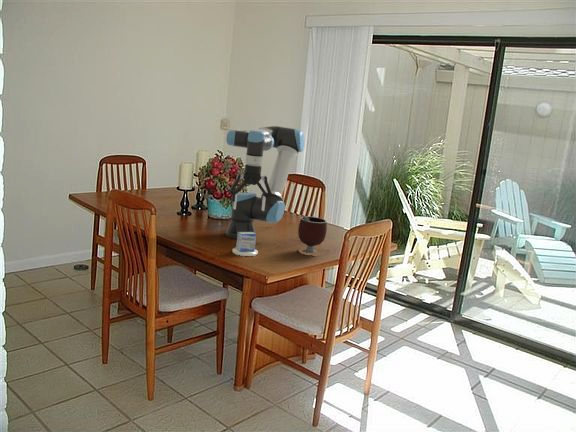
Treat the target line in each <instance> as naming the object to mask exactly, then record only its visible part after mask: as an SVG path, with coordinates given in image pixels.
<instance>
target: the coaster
mask: <svg viewBox="0 0 576 432" xmlns="http://www.w3.org/2000/svg"><path fill="white" fill-rule="evenodd" d="M232 254H234V255H236V256H239V255H240V256H239V257H245V256H253V257H256V255H257V254H259V251H258V250H257V249H255V250H254V251H249V252H239V251H238V250H237V249H236V246H235V247H233V248H232ZM257 256H258V255H257Z"/></svg>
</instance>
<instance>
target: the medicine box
mask: <svg viewBox="0 0 576 432" xmlns="http://www.w3.org/2000/svg"><path fill="white" fill-rule="evenodd" d="M256 239H257V233H256V232H255V233H254V232H238V235H237V239H236V246H235V247H236V249H237V250H238V251H239V252H249V251H254V250H255V248H256V241H257V240H256Z"/></svg>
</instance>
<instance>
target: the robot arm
mask: <svg viewBox="0 0 576 432" xmlns="http://www.w3.org/2000/svg"><path fill="white" fill-rule="evenodd" d="M225 138H226V139H225V141H226V143H227V145H228V146H232V147H238V148H246V155H245V165H244V173H243V174H241V173H237V174H236V178H235V180H234V181H233V183H232V185H231V186H230V188H229V190H228V193H229V194H230V195H232V196H231V202H232V206H231V218H230V222H229V224H228V227H227V229H226V231H225V232H226V233H225V236H226V237H228V238H230V239H234V240H237V235H238V232H254V233H255V234H256V230H255V226H254V220H256V221H261V222H265V223H268V224H269V223H270V224H276V223H278V222H280V221H281V219H282V218H283V216H284V213H285V207H286V204H285V202H284V198H283V194H284V190H285V187H286V185H287V184H286V183H287V180H288V176H289V174H290V170H291V167H292V164H293V161H294V158H296V157H297V156H298V155H299V153H302V152H303V151H304V148H305V134H304V131H303V130H301V129H298V128H290V127H284V126H277V125H273V126H264V127H263V126H261V127H259V128H258V129H250V130H237V129H236V130H235V129H230V130H228V132H227V134H226V137H225ZM273 148H274V149H276V151H277V153H278V154H277V156H276V160H275V162H274V165H273V168H272V171H271V175H270V176H269V177H270V178H269V179H268V177H267V175H263V176H262V175H261V174H262V165H263V156H264V152H266V151H269V150H271V149H273ZM242 179H243V180H242ZM241 180H242V182H241V183H240V184H239V182H240V181H241ZM261 180H262V182H263V183H264V186H265V188H266V189H264V188H263V186H262V184H261V183H260V181H261ZM268 180H269V181H268ZM238 184H239V185H238ZM237 185H238V186H237ZM247 185H249V186H250V185H253V186H256V185H257V186H258V188H259V189H260V191H261V196H260V197H258V196H257V194H256V193H255V192H240V191H241V190H242V189H243V188H244V187H245V186H247Z"/></svg>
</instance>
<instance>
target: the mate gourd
mask: <svg viewBox="0 0 576 432" xmlns="http://www.w3.org/2000/svg"><path fill="white" fill-rule="evenodd" d="M327 223H328V221H327V220H326V219H324V218H322V217H319V216H318V217H316V216H306V215H304V214H301V217H300V220H299V223H298V229H297V230H298V239H299V240H300V242H301V243H303V244H305V245H306V247H304V248H305V249H302V251H303V252H306V253H317V251H316V250H317V249H316V250H314V249H315V248H314V247H315V246H319V245H321V244H322V243H323V242H325V239H326V234H327V229H328V226H327V225H328V224H327Z"/></svg>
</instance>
